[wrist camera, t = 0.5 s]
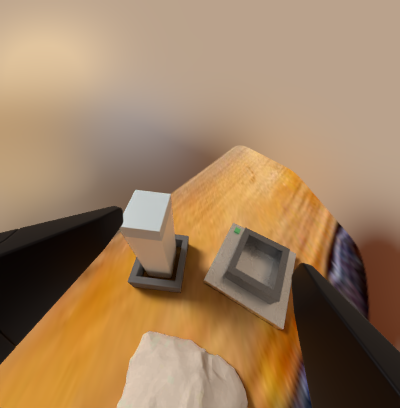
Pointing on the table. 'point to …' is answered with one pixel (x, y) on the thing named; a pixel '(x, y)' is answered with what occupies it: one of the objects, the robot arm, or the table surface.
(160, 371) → the decorative stone
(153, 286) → the grey hollow square frame
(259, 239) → the port
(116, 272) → the table surface
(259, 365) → the table surface
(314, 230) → the table surface
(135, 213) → the plug
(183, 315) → the table surface
